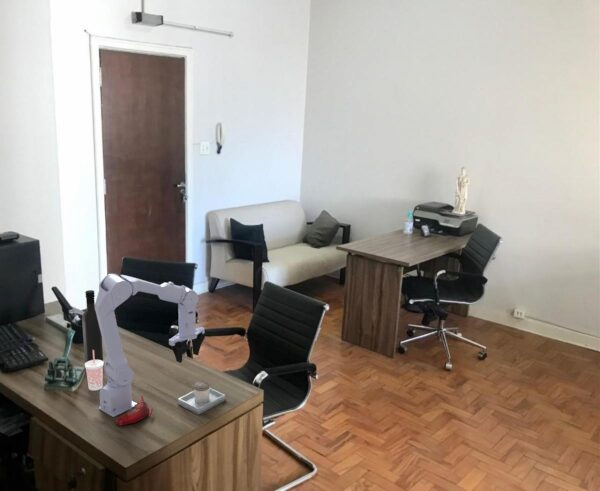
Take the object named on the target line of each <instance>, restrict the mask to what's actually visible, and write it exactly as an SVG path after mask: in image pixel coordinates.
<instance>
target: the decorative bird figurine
mask: <svg viewBox="0 0 600 491" xmlns="http://www.w3.org/2000/svg"><path fill="white" fill-rule="evenodd" d="M153 411H154V409H153V408H151V410H150V407H149V406H148V403H147V402H145V401H144V397H143V395H141V396H140V401H139V402H137V404H136V405H135V406H134V407H132V408H131V409H129V410H127V411H126V412H124V413H123V414H121V415H120V416H119V417H118V418H117V419H116V420H115V422H116V424H117V425H119V426H125V425H129V424H134V423H136V422H139V421H141V420H143V419H144V418H145V417H147V415H148V417H150V416H151V415H152V414H153ZM148 413H149V414H148Z"/></svg>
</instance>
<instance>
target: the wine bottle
mask: <svg viewBox="0 0 600 491" xmlns="http://www.w3.org/2000/svg"><path fill="white" fill-rule="evenodd" d="M95 297H96V296H95V290H92V289H91V290H90V289H89V290H88V289H87V290H86V291H85V300H86V302H85V303H86V310H85V311H84V312H83V313H82V317H81V324H82V338H83V353H84V364H85V363H86V362H88V361H90V360H93V350H94V357H95V360H102V361H103V362H104V351H103V350H104V349H103V347H104V346H103V339H102V335H101V331H100V327H99V323H98V319H97V315H96V311H95V303H96V300H95ZM104 366H105V364H103V368H104Z"/></svg>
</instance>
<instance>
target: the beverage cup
mask: <svg viewBox="0 0 600 491" xmlns="http://www.w3.org/2000/svg"><path fill="white" fill-rule="evenodd" d="M103 365H105V362H104V360H103V361H102V360H95V357H94V350H93V360H90V361H88V362H86V363H85V362H84V368H85V372H86V377H87V385H88V387H87V388H88V390H89V391H100V389H101V388H103V387H104V385H103V384H104V382H103V379H104V378H103V375H104V374H103V373H104V367H103Z"/></svg>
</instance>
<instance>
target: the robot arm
mask: <svg viewBox="0 0 600 491" xmlns="http://www.w3.org/2000/svg"><path fill="white" fill-rule="evenodd" d="M138 292H141V293H146V294H152V295H156V296H158V298H159V300H162V301H166V302H169V303H174V304H177V306H178V307H177V308H178V309H177V311H178V333H177V334H175V335H174V336H172V337H171V338H169V339H168V345H169V347H170V348H171V350H172V352H173V354H174V357H175V361H176V362H178V363H179V364H181V363H182V361H183V354H184V348H185V345H184V344H182V342H184V341H187V340H191V346H192V348H191V349H192V354H193V355H195V356H199V354H200V350H201V348H202V347H201V346H202V344H203V342H204V340H205V339H206V337H205V335H204V334H205V327H202V326H200V327H196V326H197V324H196V321H197V320H196V307H197V304H198V302H199V299H200V297H199V296H198V293H197V292H196V291H195V290H193V289H191V288H189V287H188V286H185V285H183V284H182V285H176V284H175V283H174V282H172V281H168V282H163V283H161V284H158V283H154V282H150V281H147V280H143V279H140V278H137V277H133V276H129V275H126V274H125V275H124V274H120V275H119V274H118V273H108V274H107V275H106V276H104V278H103V279H102V280H101V281H100V282H99V283H98V292H97V297H96V300H95V311H96V315H97V319H98V323H99V327H100V331H101V335H102V344H103V347H104V352H105V355H106V356H105V357H104V367H103V372H104V373H105V375H107V376H108V377H107V383H106V384H105V385H103V387H102V388H101V389H99V407H98V409H99V410H101V411H102V412H103V413H105V414H107V415H108V416H111V417H112V418H114V417H118V416H119V415H122V414H124V413H126V412H128V411H129V410H130V409H131V408H132V407H134V406H135V405H136V404H138V402H135V401H133V398H132V397H133V396H132V395H133V394H132V381H133V380H134V376H135V373H134V370H133V369H132V368H131V367H130V365H129V361H128V360H127V358H126V356H125V354H124V350H123V349H124V348H123V345H122V341H121V337H120V332H119V328H118V324H117V319H116V315H115V314H116V313H115V310H116V308H118V307H119V306H120V305H122V304H123V303H124V302H125V301H127V300H128V299H129V298H130V297H131V296H135V295H136V294H137V293H138Z"/></svg>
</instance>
